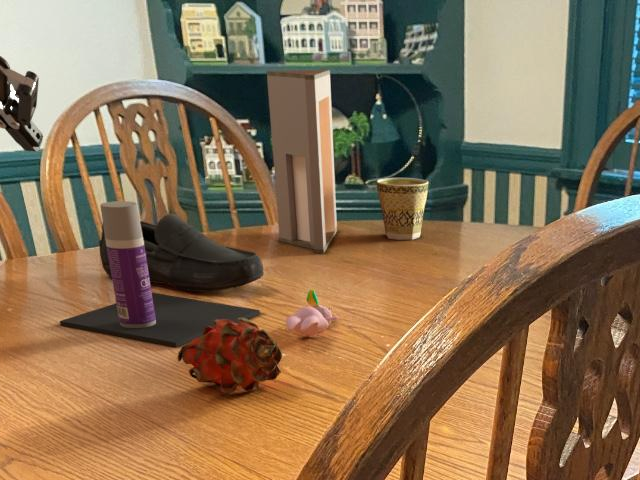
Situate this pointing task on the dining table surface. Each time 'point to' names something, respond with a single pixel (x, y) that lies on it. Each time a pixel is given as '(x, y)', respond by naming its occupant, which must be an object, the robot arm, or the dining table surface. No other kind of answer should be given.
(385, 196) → the ceramic cup
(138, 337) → the mat
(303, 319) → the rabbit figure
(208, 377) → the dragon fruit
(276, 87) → the cabinet
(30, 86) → the robot arm
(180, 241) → the loafer
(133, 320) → the container
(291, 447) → the dining table surface
